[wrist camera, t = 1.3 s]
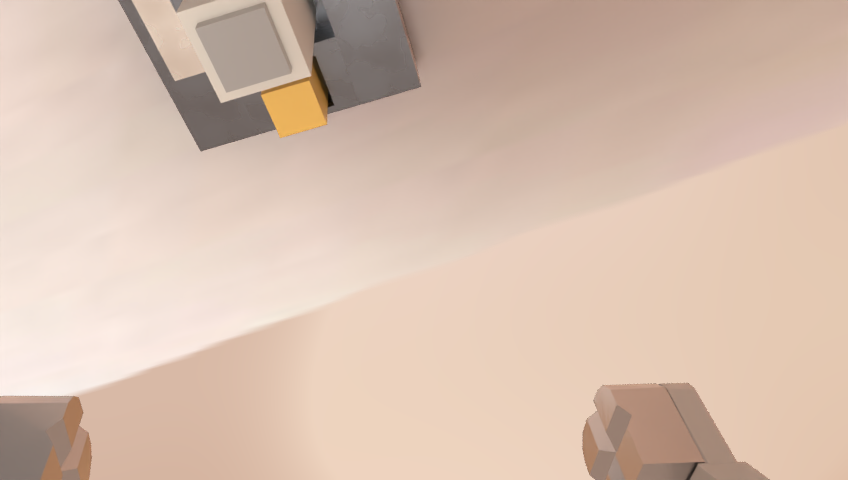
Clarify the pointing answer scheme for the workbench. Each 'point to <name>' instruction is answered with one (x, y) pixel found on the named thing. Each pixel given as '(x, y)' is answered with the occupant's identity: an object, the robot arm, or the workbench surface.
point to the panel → (333, 47)
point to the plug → (250, 42)
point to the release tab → (298, 103)
